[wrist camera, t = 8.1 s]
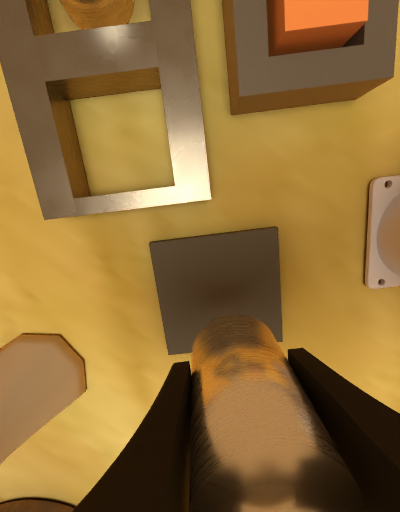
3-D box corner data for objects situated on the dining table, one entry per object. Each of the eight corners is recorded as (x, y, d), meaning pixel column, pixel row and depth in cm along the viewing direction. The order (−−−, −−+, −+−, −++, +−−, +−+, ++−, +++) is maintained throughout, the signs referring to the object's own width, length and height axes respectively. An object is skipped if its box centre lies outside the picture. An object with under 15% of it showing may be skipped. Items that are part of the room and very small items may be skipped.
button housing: (361, -63, 13) (407, -134, 11) (356, 99, 15) (393, 76, 12) (218, -44, 13) (225, -109, 11) (231, 115, 15) (239, 96, 13)
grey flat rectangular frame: (175, -110, 13) (170, -182, 10) (208, 198, 17) (211, 199, 14) (-11, -85, 13) (-59, -150, 10) (65, 216, 17) (44, 220, 14)
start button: (332, -26, 13) (372, -89, 10) (331, 56, 14) (367, 20, 11) (262, -16, 13) (282, -77, 10) (266, 65, 14) (285, 31, 11)
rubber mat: (275, 226, 17) (277, 227, 17) (279, 337, 19) (282, 341, 19) (150, 241, 17) (149, 243, 17) (169, 350, 20) (168, 355, 19)
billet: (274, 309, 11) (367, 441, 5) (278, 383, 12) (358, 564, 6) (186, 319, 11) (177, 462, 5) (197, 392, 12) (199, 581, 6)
